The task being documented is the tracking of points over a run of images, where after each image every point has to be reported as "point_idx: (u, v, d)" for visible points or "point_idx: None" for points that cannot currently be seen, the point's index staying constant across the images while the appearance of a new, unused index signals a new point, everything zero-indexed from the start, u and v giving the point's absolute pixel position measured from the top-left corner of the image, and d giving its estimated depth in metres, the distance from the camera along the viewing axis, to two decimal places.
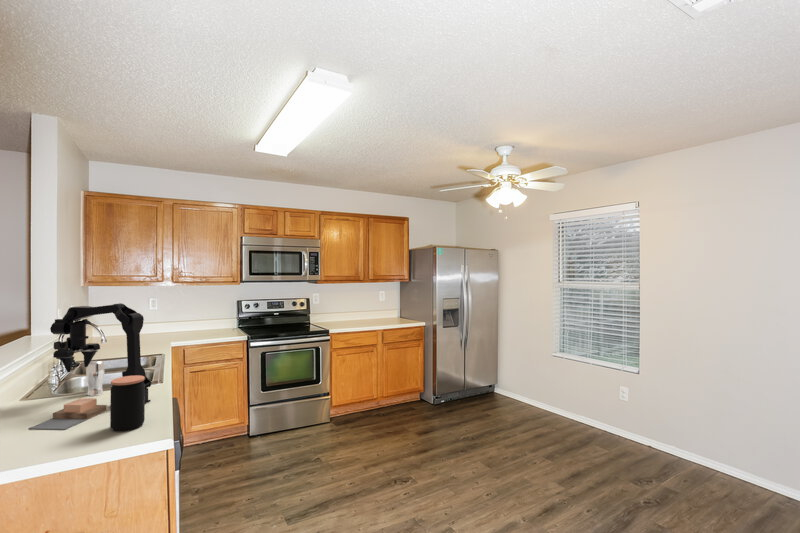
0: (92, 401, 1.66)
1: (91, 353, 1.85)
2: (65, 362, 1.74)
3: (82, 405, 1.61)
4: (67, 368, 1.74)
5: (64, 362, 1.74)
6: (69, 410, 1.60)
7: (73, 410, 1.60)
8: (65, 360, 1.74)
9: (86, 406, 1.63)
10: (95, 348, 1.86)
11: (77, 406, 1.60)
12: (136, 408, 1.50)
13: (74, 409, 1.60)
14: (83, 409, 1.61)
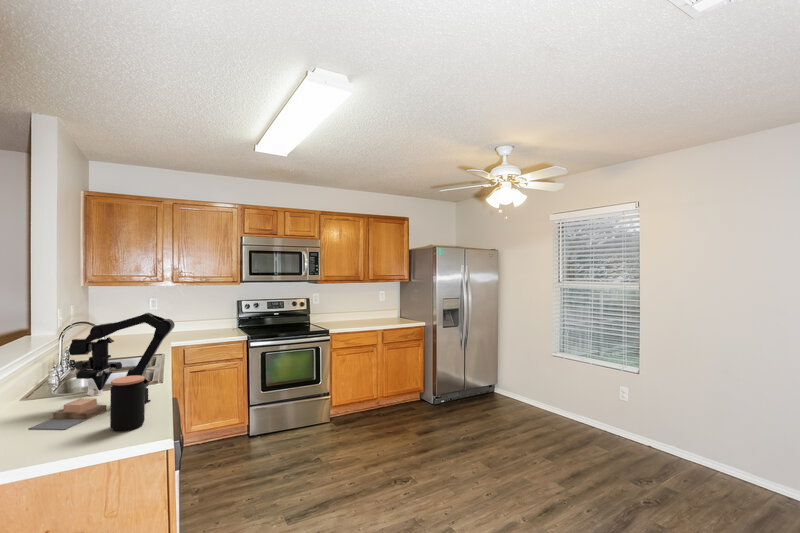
0: (92, 401, 1.66)
1: (106, 375, 1.75)
2: (96, 380, 1.73)
3: (82, 405, 1.61)
4: (98, 386, 1.73)
5: (95, 380, 1.73)
6: (69, 410, 1.60)
7: (73, 410, 1.60)
8: (96, 378, 1.73)
9: (86, 406, 1.63)
10: (117, 367, 1.80)
11: (77, 406, 1.60)
12: (136, 408, 1.50)
13: (74, 409, 1.60)
14: (83, 409, 1.61)
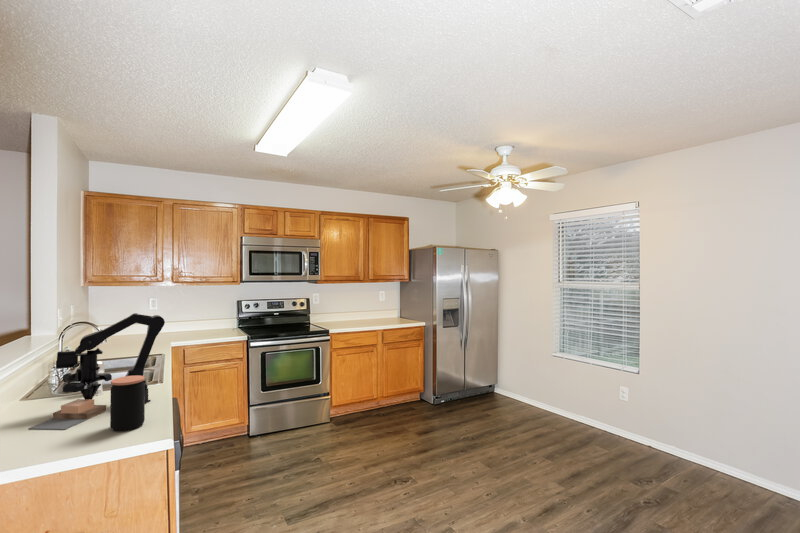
0: (90, 402, 1.65)
1: (94, 387, 1.69)
2: (84, 393, 1.67)
3: (80, 406, 1.60)
4: None
5: (83, 393, 1.67)
6: (66, 411, 1.59)
7: (70, 411, 1.59)
8: (84, 391, 1.67)
9: (84, 407, 1.62)
10: (107, 379, 1.74)
11: (74, 407, 1.59)
12: (136, 408, 1.50)
13: (71, 410, 1.59)
14: (81, 410, 1.60)
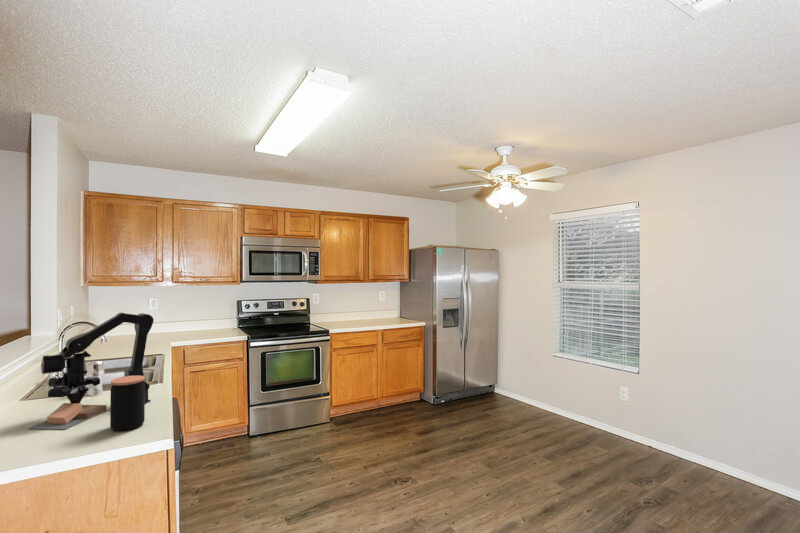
0: (77, 408, 1.58)
1: (81, 392, 1.62)
2: (71, 398, 1.60)
3: (66, 417, 1.53)
4: None
5: (70, 398, 1.60)
6: (54, 422, 1.53)
7: (58, 422, 1.53)
8: (71, 395, 1.60)
9: (71, 415, 1.56)
10: (95, 383, 1.68)
11: (61, 418, 1.53)
12: (136, 408, 1.50)
13: (59, 421, 1.53)
14: (69, 419, 1.55)
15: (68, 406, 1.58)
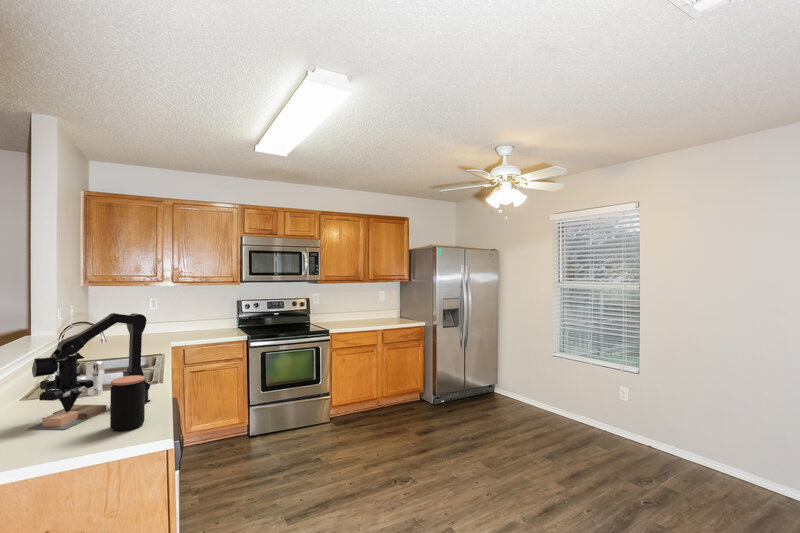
0: (74, 414, 1.57)
1: (74, 395, 1.59)
2: (63, 401, 1.57)
3: (62, 419, 1.52)
4: (65, 407, 1.57)
5: (62, 401, 1.57)
6: (48, 424, 1.51)
7: (53, 424, 1.51)
8: (63, 399, 1.57)
9: (67, 420, 1.54)
10: (88, 386, 1.64)
11: (57, 420, 1.51)
12: (136, 408, 1.50)
13: (54, 423, 1.51)
14: (63, 423, 1.52)
15: (65, 412, 1.57)
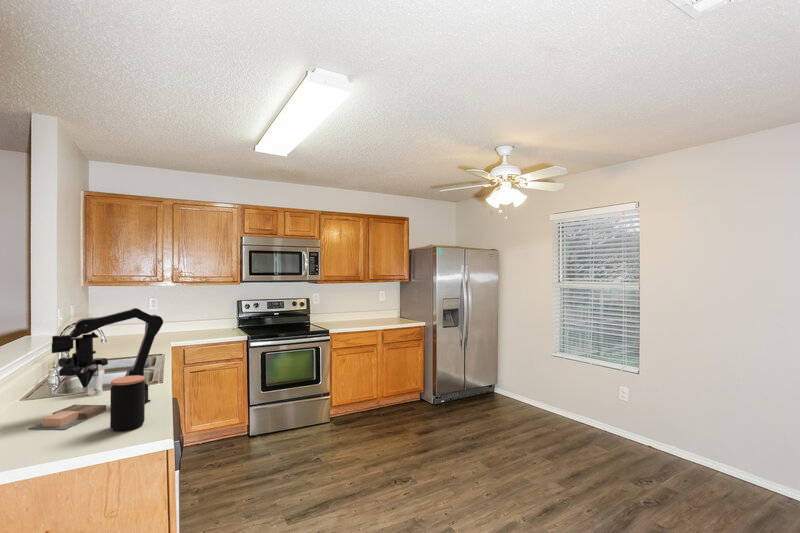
0: (74, 414, 1.57)
1: (91, 372, 1.67)
2: (81, 377, 1.65)
3: (62, 419, 1.52)
4: (83, 383, 1.65)
5: (80, 377, 1.64)
6: (48, 424, 1.51)
7: (53, 424, 1.51)
8: (81, 375, 1.65)
9: (67, 420, 1.54)
10: (103, 363, 1.72)
11: (57, 420, 1.51)
12: (136, 408, 1.50)
13: (54, 423, 1.51)
14: (63, 423, 1.52)
15: (65, 412, 1.57)
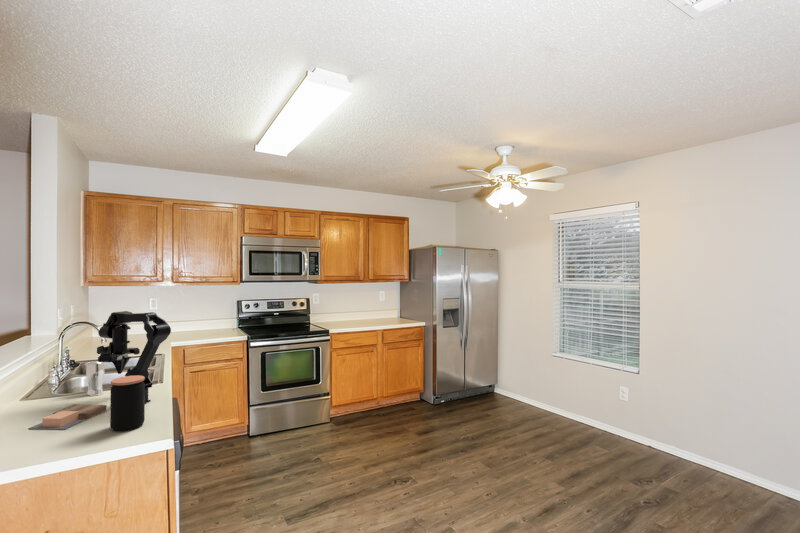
0: (74, 414, 1.57)
1: (125, 359, 1.84)
2: (116, 364, 1.82)
3: (62, 419, 1.52)
4: (118, 370, 1.82)
5: (115, 364, 1.82)
6: (48, 424, 1.51)
7: (53, 424, 1.51)
8: (116, 362, 1.82)
9: (67, 420, 1.54)
10: (135, 352, 1.89)
11: (57, 420, 1.51)
12: (136, 408, 1.50)
13: (54, 423, 1.51)
14: (63, 423, 1.52)
15: (65, 412, 1.57)
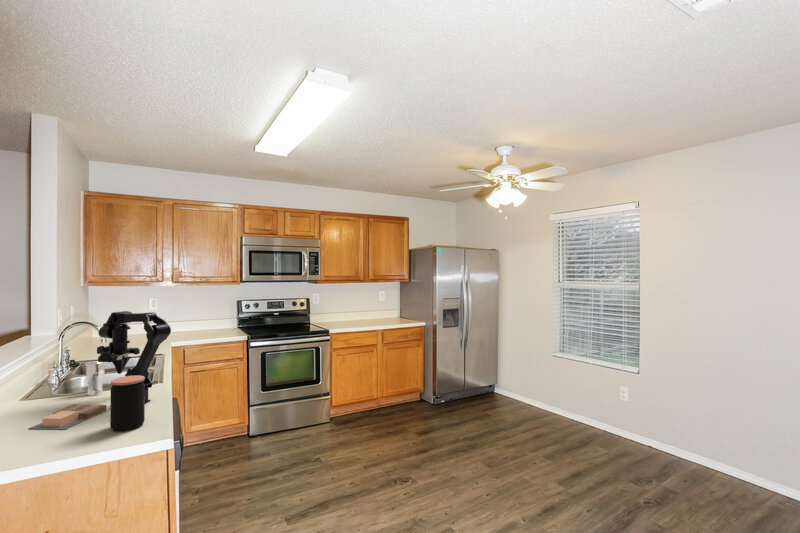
0: (74, 414, 1.57)
1: (125, 359, 1.84)
2: (116, 364, 1.82)
3: (62, 419, 1.52)
4: (118, 370, 1.82)
5: (115, 364, 1.82)
6: (48, 424, 1.51)
7: (53, 424, 1.51)
8: (116, 362, 1.82)
9: (67, 420, 1.54)
10: (135, 352, 1.89)
11: (57, 420, 1.51)
12: (136, 408, 1.50)
13: (54, 423, 1.51)
14: (63, 423, 1.52)
15: (65, 412, 1.57)
